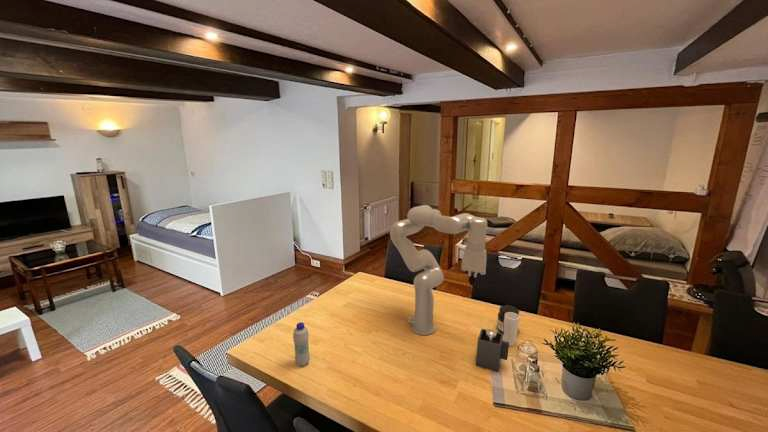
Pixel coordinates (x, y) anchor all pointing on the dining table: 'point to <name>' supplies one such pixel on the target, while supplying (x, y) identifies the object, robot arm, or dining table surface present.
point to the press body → (491, 351)
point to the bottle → (301, 344)
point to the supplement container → (501, 315)
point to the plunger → (491, 334)
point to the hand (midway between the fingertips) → (472, 284)
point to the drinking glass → (510, 327)
